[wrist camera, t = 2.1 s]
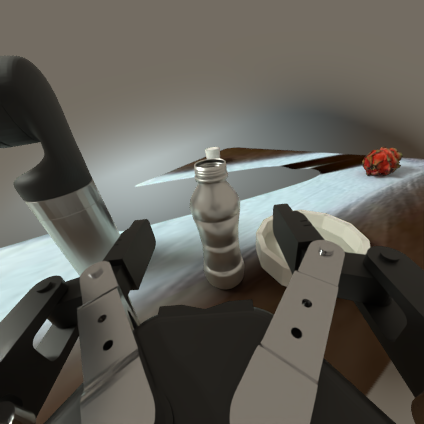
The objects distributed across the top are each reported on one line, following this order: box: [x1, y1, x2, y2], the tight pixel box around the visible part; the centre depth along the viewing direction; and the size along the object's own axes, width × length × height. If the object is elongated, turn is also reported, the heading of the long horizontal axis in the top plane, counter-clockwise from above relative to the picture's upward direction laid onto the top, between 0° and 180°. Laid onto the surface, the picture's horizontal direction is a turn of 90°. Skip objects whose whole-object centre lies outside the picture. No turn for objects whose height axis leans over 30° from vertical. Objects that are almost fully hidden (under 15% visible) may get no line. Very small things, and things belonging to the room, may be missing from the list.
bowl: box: [256, 210, 370, 287], centre depth 33 cm, size 17×17×4 cm
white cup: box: [205, 147, 220, 159], centre depth 86 cm, size 7×7×7 cm
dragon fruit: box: [363, 147, 403, 176], centre depth 56 cm, size 8×8×12 cm
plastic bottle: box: [190, 158, 245, 289], centre depth 26 cm, size 6×7×20 cm
